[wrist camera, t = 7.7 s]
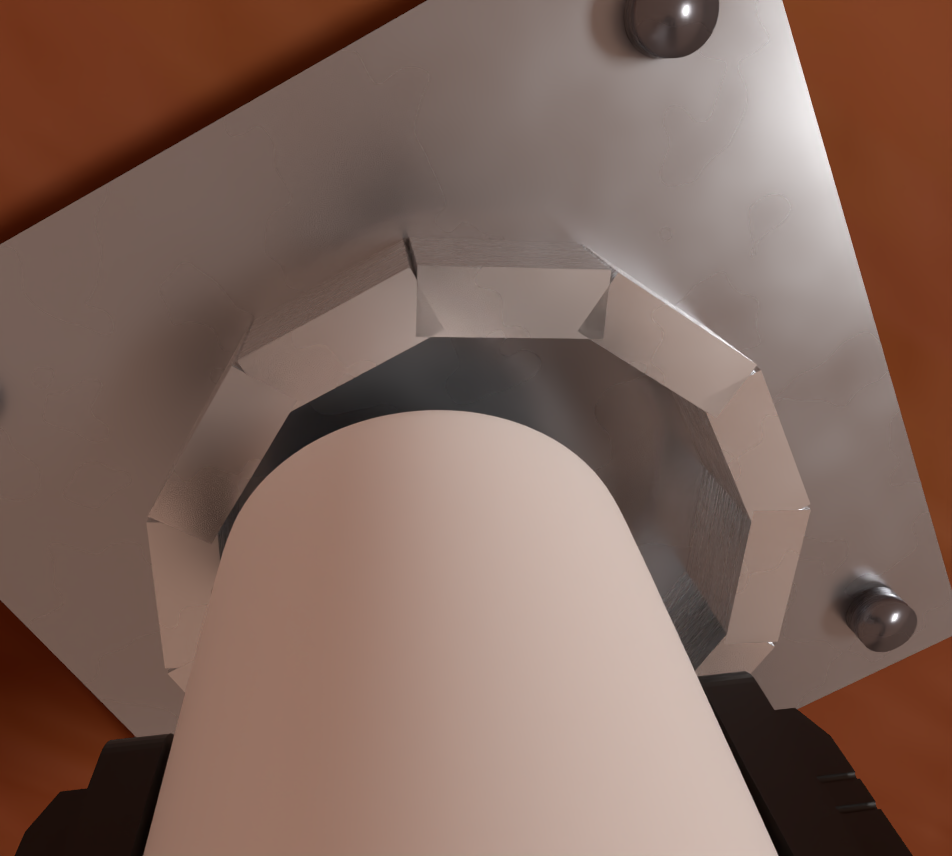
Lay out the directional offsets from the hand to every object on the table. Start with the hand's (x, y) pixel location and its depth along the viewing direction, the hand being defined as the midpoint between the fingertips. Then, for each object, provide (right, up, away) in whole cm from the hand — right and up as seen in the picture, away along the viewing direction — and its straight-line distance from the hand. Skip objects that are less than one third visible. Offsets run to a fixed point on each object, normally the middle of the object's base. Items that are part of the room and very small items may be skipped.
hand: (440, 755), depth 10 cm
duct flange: (0, +3, +5) cm, 6 cm away
